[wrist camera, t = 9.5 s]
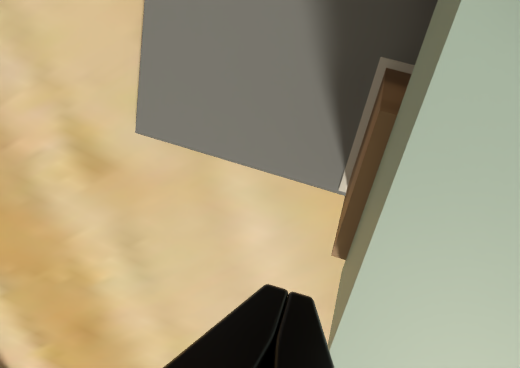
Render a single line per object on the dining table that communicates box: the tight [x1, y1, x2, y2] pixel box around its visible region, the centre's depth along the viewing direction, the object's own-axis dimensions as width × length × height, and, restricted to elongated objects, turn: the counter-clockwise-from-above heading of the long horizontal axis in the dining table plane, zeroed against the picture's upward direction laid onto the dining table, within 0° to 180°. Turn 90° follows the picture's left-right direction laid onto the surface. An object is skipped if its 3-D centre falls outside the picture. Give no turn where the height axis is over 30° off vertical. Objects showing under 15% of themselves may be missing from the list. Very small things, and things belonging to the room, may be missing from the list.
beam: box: [328, 0, 520, 368], centre depth 10 cm, size 14×4×4 cm, turn 169°
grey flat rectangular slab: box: [135, 0, 438, 196], centre depth 17 cm, size 16×14×1 cm
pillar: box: [332, 68, 412, 260], centre depth 16 cm, size 5×5×5 cm
